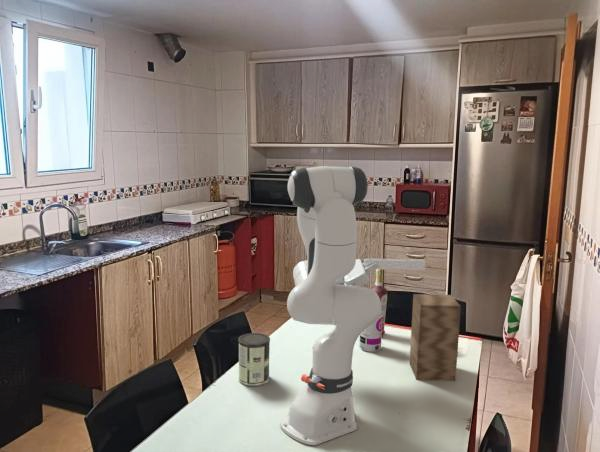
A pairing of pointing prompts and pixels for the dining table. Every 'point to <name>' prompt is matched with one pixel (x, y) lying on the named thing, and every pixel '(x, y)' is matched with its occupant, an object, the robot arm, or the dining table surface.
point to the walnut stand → (434, 337)
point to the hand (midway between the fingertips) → (377, 262)
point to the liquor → (381, 295)
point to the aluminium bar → (396, 264)
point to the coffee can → (254, 359)
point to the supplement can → (372, 336)
